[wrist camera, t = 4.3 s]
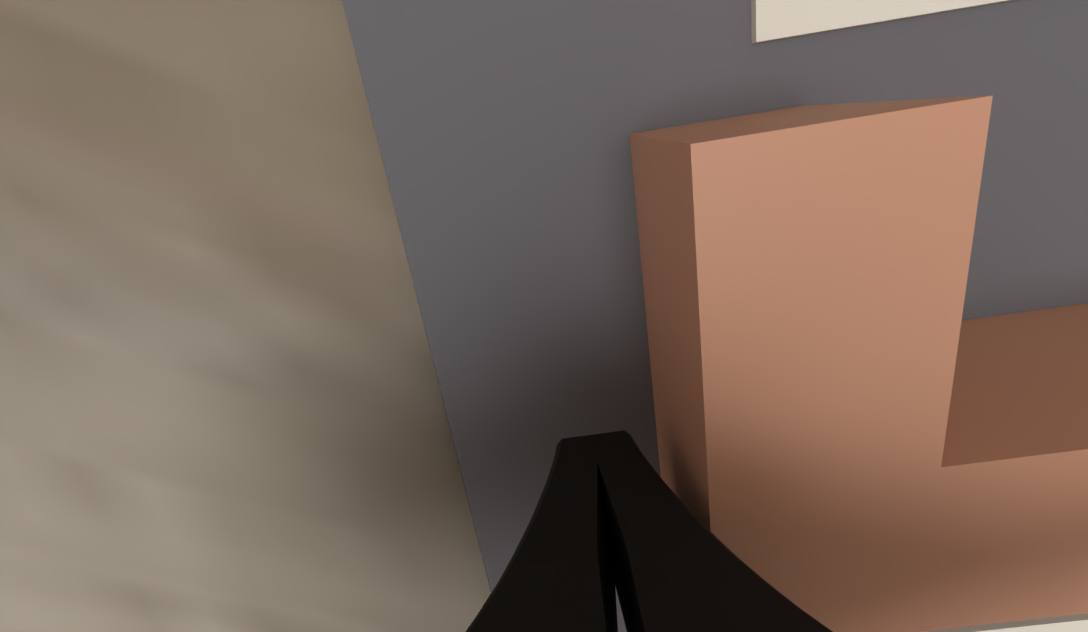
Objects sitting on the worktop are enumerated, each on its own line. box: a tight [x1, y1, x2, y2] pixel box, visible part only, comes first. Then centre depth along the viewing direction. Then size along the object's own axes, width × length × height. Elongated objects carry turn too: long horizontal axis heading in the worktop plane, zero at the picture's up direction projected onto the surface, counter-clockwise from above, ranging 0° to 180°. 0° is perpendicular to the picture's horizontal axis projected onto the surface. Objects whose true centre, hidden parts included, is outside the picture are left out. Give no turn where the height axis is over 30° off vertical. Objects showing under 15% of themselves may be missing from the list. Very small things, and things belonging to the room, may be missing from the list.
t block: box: [629, 96, 1088, 632], centre depth 9 cm, size 12×11×4 cm
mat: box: [342, 0, 1088, 632], centre depth 11 cm, size 20×20×1 cm
